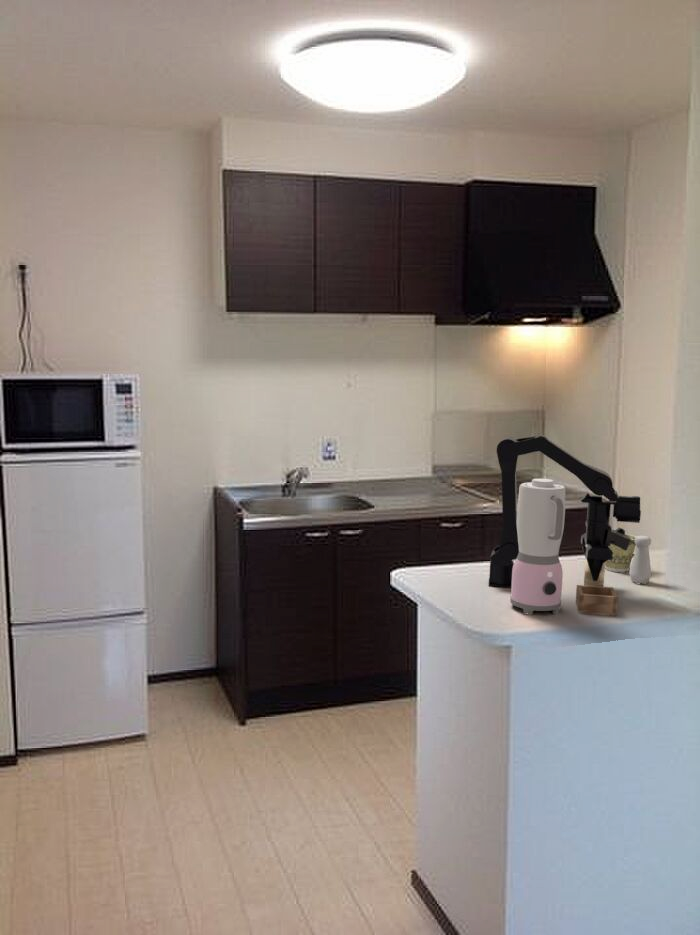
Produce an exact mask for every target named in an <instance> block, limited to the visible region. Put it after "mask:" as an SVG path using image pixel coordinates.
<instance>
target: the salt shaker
mask: <svg viewBox="0 0 700 935" xmlns="http://www.w3.org/2000/svg"><path fill="white" fill-rule="evenodd" d="M635 536H636V537H635V544H636V546H635V549H634V553H633V554H634V556H633V558H632V560H631V564H630V568H629V571H628V572H629V573H628V574H629V576H630V581H631V582H632V583H633V582H635V583H634V584H636V583H642V584H641V585H646V584H645V583H647V584H648V583H649V581H651V578H652V568H651V559H650V550H649V546H651V544H652V539H651V537H650V536H647V535H642V534H641V535H635Z"/></svg>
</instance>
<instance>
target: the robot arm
mask: <svg viewBox="0 0 700 935" xmlns="http://www.w3.org/2000/svg"><path fill="white" fill-rule="evenodd" d="M536 452H540V453H542V454H543V455H545V456H546V457H548V458H549V459H551V460H552V461H553V462H554V463H556V464H558V465H559V466H560V467H563V468H564V469H565V470H567V471H568V472H569V473H570V474H573V475H574V476H575V477H576V478H578V479H579V481H580V482H582V484H584V486H585V487H586V488H587V489H588V490H589V491H590V492H592V493H593V494H594V495H591V494H590V493H589V492H586V493H585V494H584V496H582V497H581V498H580V502H581V503H587V512H586V513H587V515H586V520H585V527H586V528H585V532H584V533H583V534H582V535H580V537H581V538H580V545H582V546H581V548H582V551H583V554H584V558H585V560H586V559H587V562H588V565H589V569H590V572H591V575H592V579H593V581H597V580H598V578H599V575H600V572H601V569H602V566H603V563H604V562H606V561H607V560H612V559H613V552H612V550H611V549H610V548H609V547H608V546H610V545H611V544H613V545H615V546H617V547H620V548H622V549H623V550H625V551H627V549H628V547H629V545H630V542H631V538H630V537H629V536H628V535H625V534H626V530H625V529H624V528H621V527H617V529H613V528H612V526H611V524H610V520H611V519H610V518H611V505H612V518H614V519H615V520H616V522H620V523H622V522H623V523H632V524H633V523H635V524H639V523H641V521H640V520H641V514H642V510H641V497H640V496H636V495H633V496H631V495H630V496H628V495H627V496H626V495H619V494H618V491H616V490H615V488H614V486H613V480H612V476H611V474H609V473H608V472H606V471H604V470H602V469H600V468H597V467H595V466H593V465H589V464H587V463H585V462H583V461H582V460H580V459H579V458H577V457H576V456H574V455H572V454H571V453H570V452H569V451H567V450H565V448H562V447H561V446H559V445H558V444H556V443H555V442H553V441H552V440H550V439H549V438H548V437H547V436H546V435H543V434H538V435H536V436H528V437H521V438H514V437H512V436H507V437H506V436H505V437H504V438H502V439H501V440H500V441H499V442H498V444H497V446H496V457H497V460H498V461H497V462H498V465H499V468H500V472H501V496H502V497H501V498H502V499H501V501H502V502H501V503H502V505H501V506H502V507H501V508H502V509H501V510H502V528H501V532H500V538H499V545H497V546H496V547H494V549H492V552H491V554H490V556H489V559H490V560H489V575H488V577H489V578H488V586H489V587H501V588H511V587H512V569H513V565H514V562H515V560H516V558H517V556H518V553H519V544H518V534H517V508H518V499H517V469H518V464H519V463H518V462H519V457H520V456H522V455H528V454H532V453H536ZM603 497H604V498H606V499H603ZM584 545H585V546H584ZM605 545H606V546H605ZM514 559H515V560H514Z"/></svg>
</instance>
